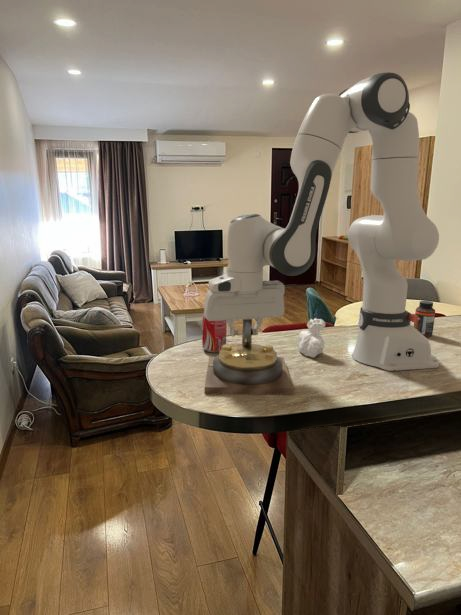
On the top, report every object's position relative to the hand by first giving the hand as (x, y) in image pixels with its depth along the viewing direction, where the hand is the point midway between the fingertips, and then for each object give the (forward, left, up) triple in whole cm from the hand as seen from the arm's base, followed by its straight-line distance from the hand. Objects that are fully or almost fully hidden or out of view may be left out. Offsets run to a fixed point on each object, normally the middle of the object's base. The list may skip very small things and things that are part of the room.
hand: (244, 335), depth 111 cm
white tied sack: (-20, -13, -9) cm, 25 cm away
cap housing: (-1, +5, -9) cm, 10 cm away
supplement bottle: (-60, -32, -9) cm, 68 cm away
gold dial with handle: (-1, +5, -5) cm, 7 cm away
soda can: (+8, -15, -9) cm, 19 cm away
